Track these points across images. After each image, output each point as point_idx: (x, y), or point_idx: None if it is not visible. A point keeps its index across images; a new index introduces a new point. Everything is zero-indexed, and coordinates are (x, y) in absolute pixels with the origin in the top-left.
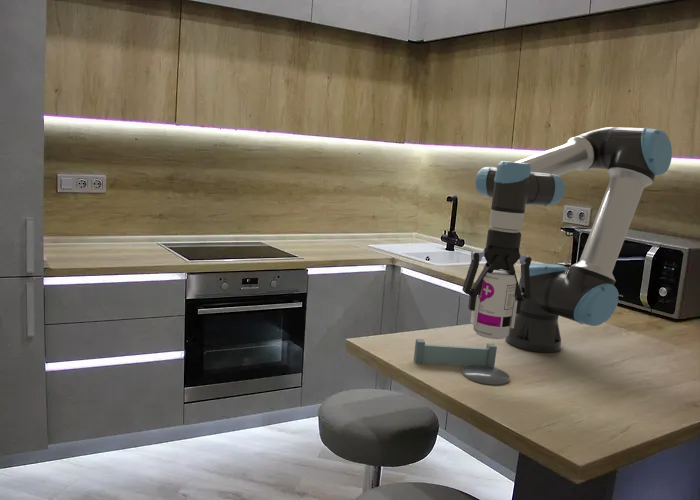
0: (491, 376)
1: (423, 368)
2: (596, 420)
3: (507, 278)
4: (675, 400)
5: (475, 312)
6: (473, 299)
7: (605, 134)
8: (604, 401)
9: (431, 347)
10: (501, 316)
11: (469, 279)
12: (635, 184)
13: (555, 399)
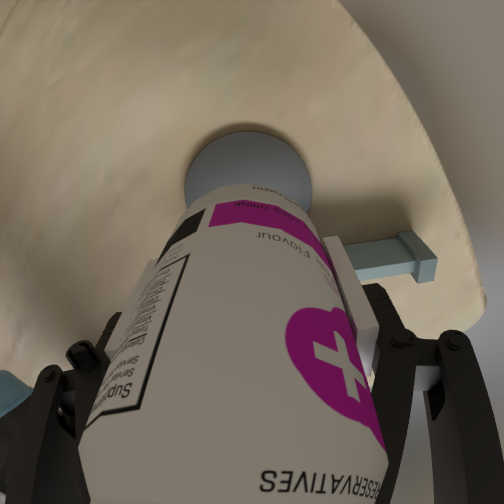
0: (234, 177)
1: (402, 203)
2: (39, 24)
3: (136, 485)
4: None
5: (352, 269)
6: (388, 326)
7: None
8: (8, 138)
9: (395, 262)
10: (208, 228)
11: (488, 414)
12: None
13: (89, 95)
